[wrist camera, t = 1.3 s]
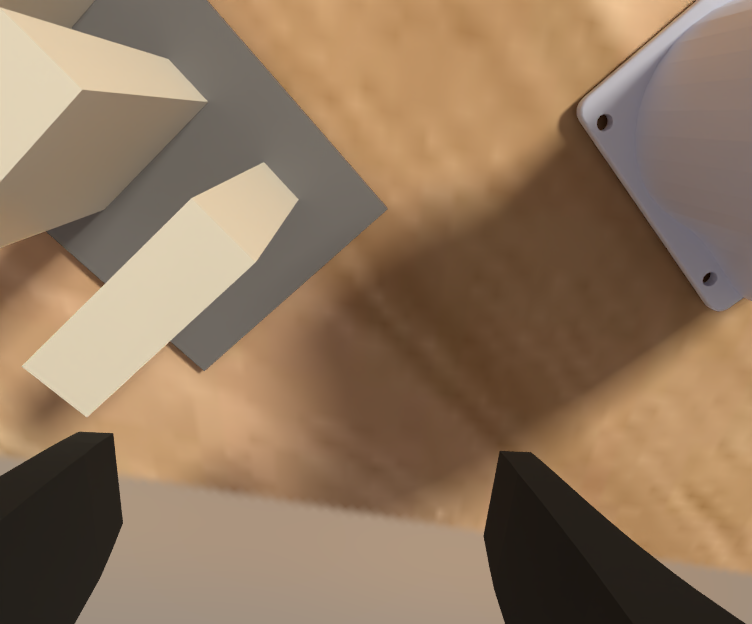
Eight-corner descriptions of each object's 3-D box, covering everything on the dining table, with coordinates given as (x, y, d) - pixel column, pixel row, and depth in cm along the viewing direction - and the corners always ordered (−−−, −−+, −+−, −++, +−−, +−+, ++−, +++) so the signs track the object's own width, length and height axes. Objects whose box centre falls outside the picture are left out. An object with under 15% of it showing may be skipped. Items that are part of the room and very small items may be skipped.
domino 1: (208, 102, 16) (82, 89, 9) (104, 209, 17) (-88, 280, 10) (168, 58, 16) (-1, 7, 8) (64, 172, 17) (-171, 216, 9)
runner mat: (386, 207, 18) (387, 209, 18) (206, 366, 20) (204, 371, 19) (-256, -534, 12) (-277, -555, 11) (-432, -201, 14) (-454, -209, 13)
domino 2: (298, 199, 17) (255, 262, 10) (196, 295, 18) (86, 417, 11) (263, 162, 17) (191, 197, 9) (160, 262, 18) (21, 366, 10)
